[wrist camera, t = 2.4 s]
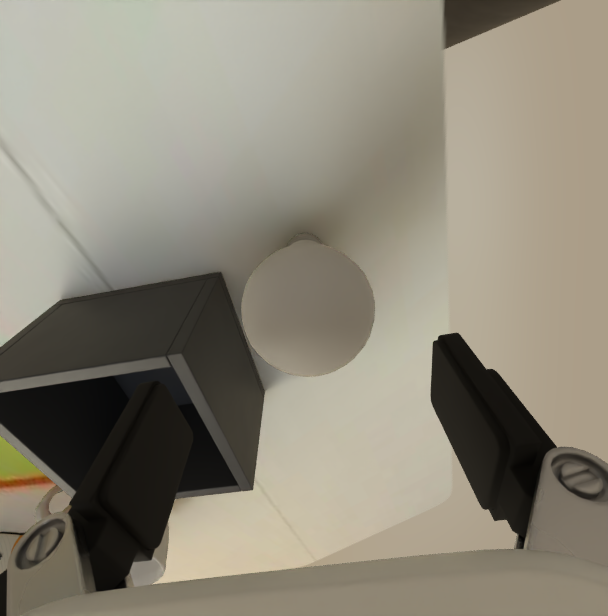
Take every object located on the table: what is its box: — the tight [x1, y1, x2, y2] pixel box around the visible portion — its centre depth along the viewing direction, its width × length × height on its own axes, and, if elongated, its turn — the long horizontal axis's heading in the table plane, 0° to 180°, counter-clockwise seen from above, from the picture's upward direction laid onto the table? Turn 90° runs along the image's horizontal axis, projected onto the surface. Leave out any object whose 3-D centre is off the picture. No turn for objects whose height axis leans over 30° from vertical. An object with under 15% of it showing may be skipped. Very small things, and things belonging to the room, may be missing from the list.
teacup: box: [35, 485, 169, 587], centre depth 33 cm, size 15×12×8 cm
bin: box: [0, 272, 265, 499], centre depth 22 cm, size 13×13×9 cm
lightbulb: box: [242, 233, 375, 377], centre depth 17 cm, size 6×6×11 cm
